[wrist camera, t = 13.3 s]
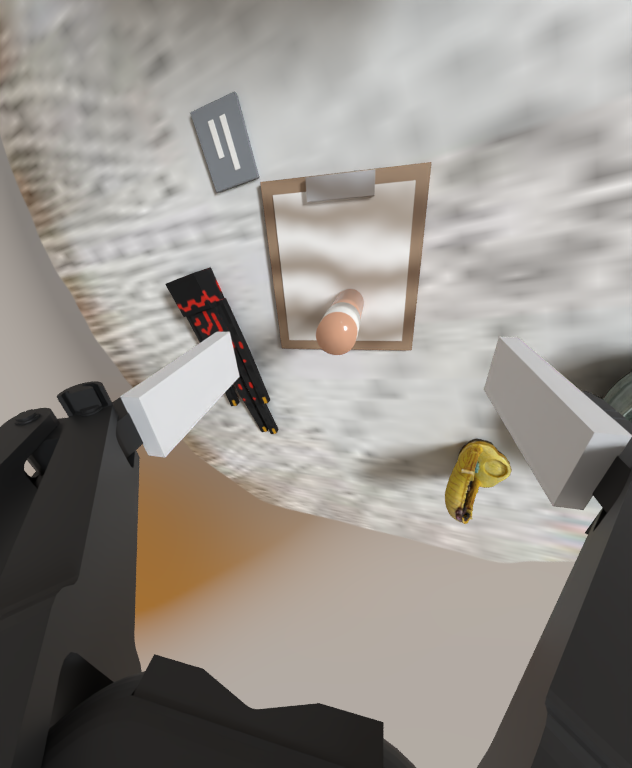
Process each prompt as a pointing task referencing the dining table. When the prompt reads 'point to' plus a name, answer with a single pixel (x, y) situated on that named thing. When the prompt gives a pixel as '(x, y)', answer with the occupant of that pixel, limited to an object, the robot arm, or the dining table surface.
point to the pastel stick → (341, 323)
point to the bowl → (621, 397)
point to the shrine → (474, 476)
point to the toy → (213, 315)
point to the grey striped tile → (225, 142)
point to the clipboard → (348, 251)
